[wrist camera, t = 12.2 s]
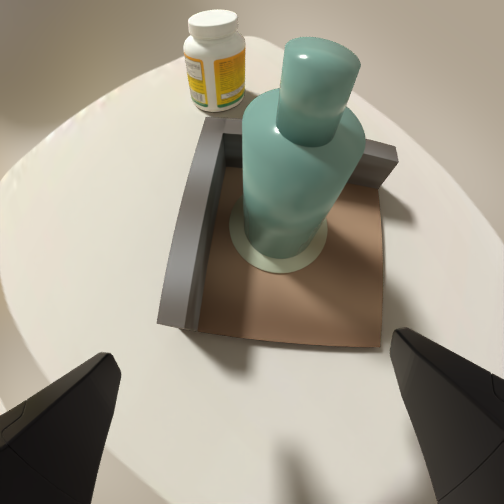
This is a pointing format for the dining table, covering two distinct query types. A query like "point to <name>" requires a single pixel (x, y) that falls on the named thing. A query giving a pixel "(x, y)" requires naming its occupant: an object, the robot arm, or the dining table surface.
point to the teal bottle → (299, 147)
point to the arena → (270, 269)
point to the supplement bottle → (215, 60)
